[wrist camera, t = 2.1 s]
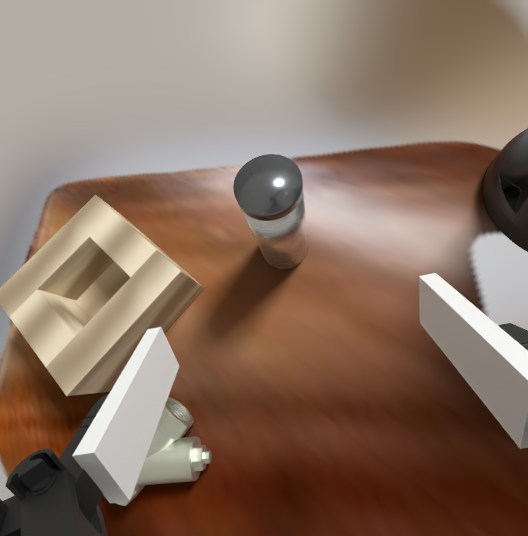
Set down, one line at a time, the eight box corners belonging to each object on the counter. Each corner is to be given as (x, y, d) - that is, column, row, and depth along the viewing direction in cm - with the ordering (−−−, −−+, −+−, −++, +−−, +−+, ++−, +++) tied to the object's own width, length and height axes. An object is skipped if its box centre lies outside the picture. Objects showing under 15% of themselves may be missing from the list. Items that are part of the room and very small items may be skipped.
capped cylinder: (317, 243, 32) (316, 175, 21) (287, 278, 31) (271, 226, 20) (281, 219, 34) (263, 144, 22) (253, 252, 33) (219, 190, 22)
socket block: (204, 288, 32) (180, 270, 27) (112, 391, 30) (66, 396, 25) (128, 221, 37) (95, 194, 31) (45, 306, 35) (-7, 294, 29)
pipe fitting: (224, 444, 28) (174, 394, 29) (213, 458, 24) (156, 400, 26) (166, 521, 26) (118, 464, 28) (145, 548, 23) (90, 481, 24)
